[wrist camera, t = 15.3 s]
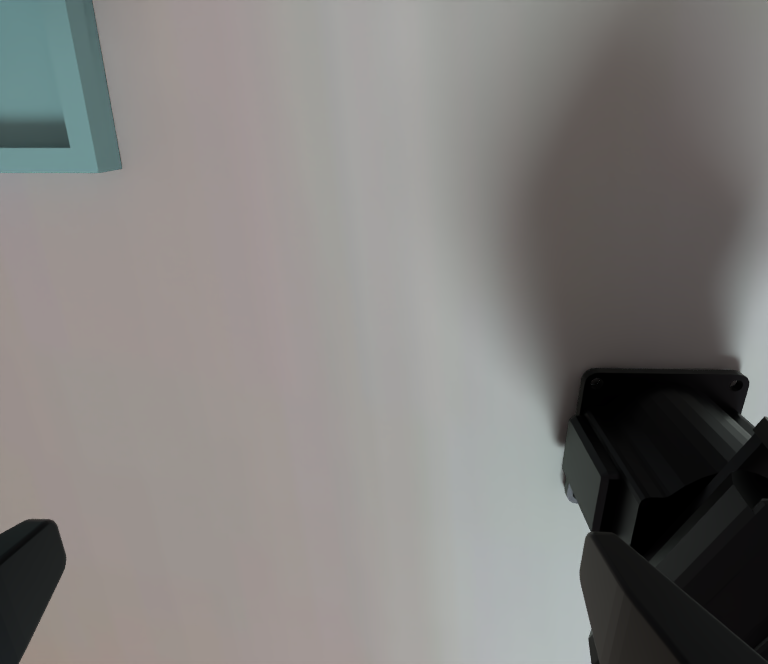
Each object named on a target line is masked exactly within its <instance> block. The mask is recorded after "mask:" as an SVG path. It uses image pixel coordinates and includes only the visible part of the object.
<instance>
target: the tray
mask: <svg viewBox="0 0 768 664" xmlns="http://www.w3.org/2000/svg"><path fill="white" fill-rule="evenodd" d="M118 169H122V166H121V160H120V154H119V149H118V143H117V138H116V132H115V127H114V121H113V115H112V110H111V104H110V99H109V93H108V88H107V82H106V77H105V71H104V65H103V60H102V54H101V49H100V43H99V38H98V32H97V26H96V21H95V15H94V10H93V4H92V0H0V173H101V172H107V171H112V170H118Z"/></svg>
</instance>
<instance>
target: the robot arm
mask: <svg viewBox="0 0 768 664" xmlns="http://www.w3.org/2000/svg"><path fill="white" fill-rule="evenodd" d="M596 378H600V381H599V382H598V383H597V384H594V385H591V382H592V380H594V379H596ZM735 380H737V382H736V384H735V385H733V386H731V387H730V384H731V383H732V382H733V381H735ZM748 388H749V380H748V378H747V377H745V376H744V375H743V374H742V373H740V372H739V371H735V370H686V369H614V368H594V369H590V370H588V371H586V372H585V373H584V374H583V376H582V379H581V385H580V391H579V398H578V404H577V411H576V415H574V416H573V417H572V418H571V419H570V420H569V424H568V430H567V437H566V444H565V450H564V457H563V464H562V469H563V471H564V473H565V476H566V482H565V493H566V496H567V498H568V499H569V501H571V502H572V503H578V504H579V507H580V509H581V511H582V513H583V515H584V518H585V520H586V522H587V524H588V526H589V529H590V531H591V532H589V533H588V534H587V536H586V538H585V543H584V548H583V554H582V560H581V565H580V582H581V587H582V591H583V595H584V600H585V604H586V608H587V612H588V616H589V620H590V624H591V628H592V629H591V632H590V635H589V647H590V655H591V663H592V664H768V417H764V418H763V419H762V420H761V421H760V422H759V423H758V424H757V425H756V426H755V427H754V426H753V425H752V424H751V423H750V422H749V421H748V420H746V419H745V418H744V417H743V416H742V415H741V412H742V409H743V405H744V402H745V398H746V395H747V391H748ZM65 565H66V553H65V550H64V547H63V543H62V540H61V536H60V533H59V530H58V526H57V524H56V523H55V522H54V521H53V520H50V519H28V520H25V521H23V522H21V523H19V524H18V525H16V526H14V527H12V528H10V529H9V530H7V531H5V532H3V533H1V534H0V664H19V662H20V660H21V658H22V656H23V654H24V652H25V650H26V648H27V646H28V644H29V642H30V640H31V638H32V636H33V634H34V632H35V630H36V628H37V626H38V624H39V622H40V619H41V617H42V615H43V613H44V611H45V609H46V607H47V605H48V603H49V601H50V599H51V597H52V595H53V592H54V590H55V588H56V586H57V584H58V582H59V580H60V578H61V576H62V574H63V571H64V569H65Z"/></svg>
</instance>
